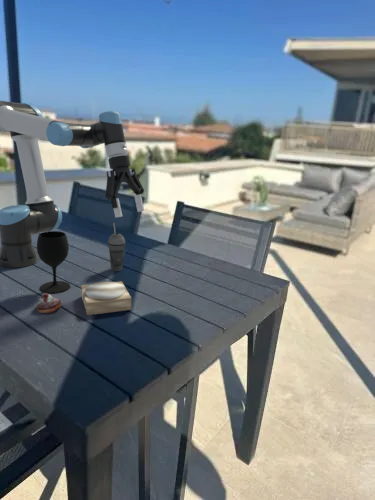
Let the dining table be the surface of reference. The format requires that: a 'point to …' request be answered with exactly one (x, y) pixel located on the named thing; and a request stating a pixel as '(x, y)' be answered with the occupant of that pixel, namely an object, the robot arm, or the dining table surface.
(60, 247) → the wine glass
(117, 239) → the beverage cup
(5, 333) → the dining table surface
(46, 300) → the pastry
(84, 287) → the plinth
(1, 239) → the robot arm
